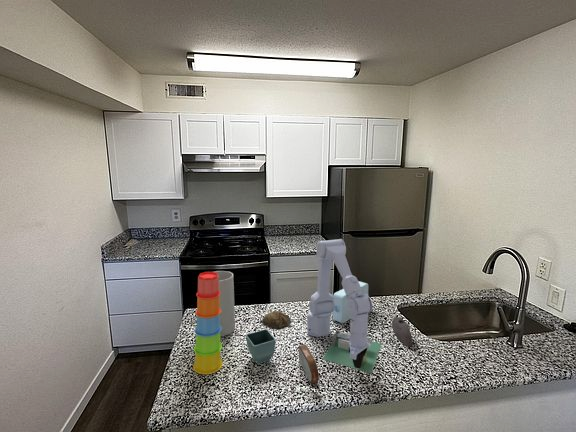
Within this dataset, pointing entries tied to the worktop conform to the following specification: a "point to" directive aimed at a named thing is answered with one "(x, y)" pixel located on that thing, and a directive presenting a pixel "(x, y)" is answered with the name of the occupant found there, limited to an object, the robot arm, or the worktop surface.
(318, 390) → the worktop surface
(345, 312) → the light blue box
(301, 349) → the tin
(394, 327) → the perforated stone tool
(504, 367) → the worktop surface
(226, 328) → the cylinder vase
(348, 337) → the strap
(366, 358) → the block
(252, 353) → the flower pot
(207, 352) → the stacking cups
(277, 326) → the bread roll
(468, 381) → the worktop surface
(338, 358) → the green board with slider
